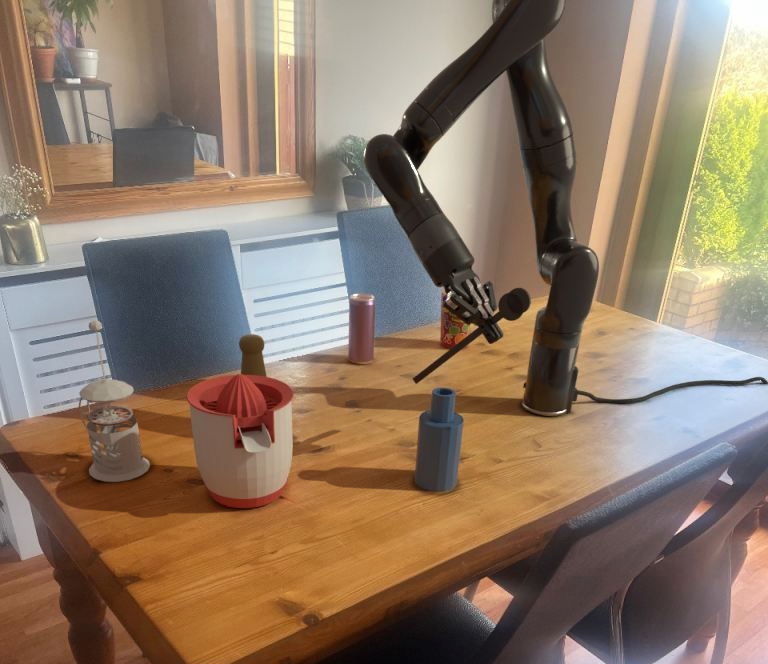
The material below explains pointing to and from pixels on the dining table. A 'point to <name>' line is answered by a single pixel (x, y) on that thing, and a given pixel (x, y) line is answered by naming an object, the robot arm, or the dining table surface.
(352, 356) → the beverage can
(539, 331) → the robot arm
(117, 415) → the french press
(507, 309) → the spoon
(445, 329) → the smoothie
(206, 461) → the citrus juicer
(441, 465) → the bottle
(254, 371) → the cork
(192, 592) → the dining table surface
